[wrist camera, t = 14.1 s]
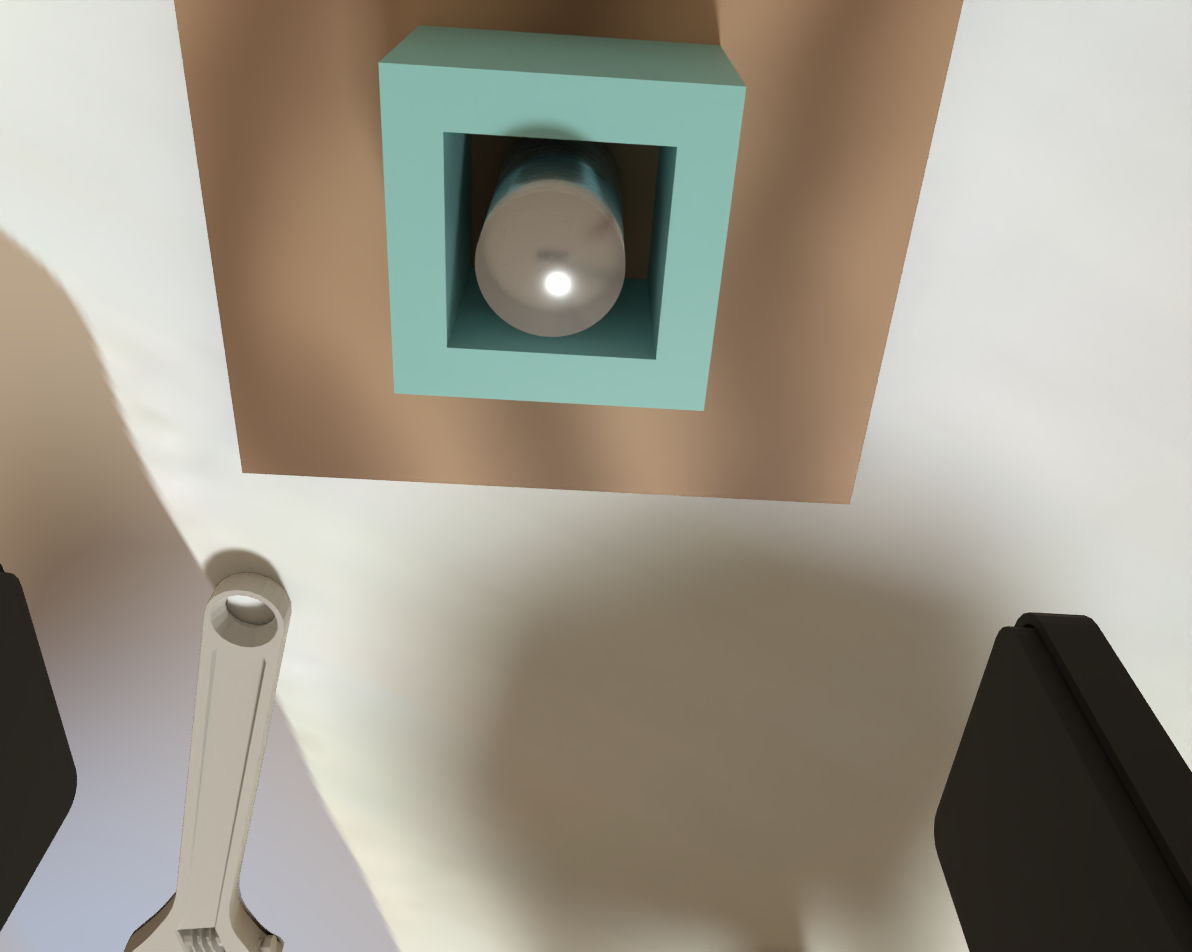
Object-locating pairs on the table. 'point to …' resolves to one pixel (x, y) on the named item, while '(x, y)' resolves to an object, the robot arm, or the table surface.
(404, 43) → the teal collar
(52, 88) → the table surface
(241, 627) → the adjustable wrench
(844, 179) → the walnut board
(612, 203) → the steel post
